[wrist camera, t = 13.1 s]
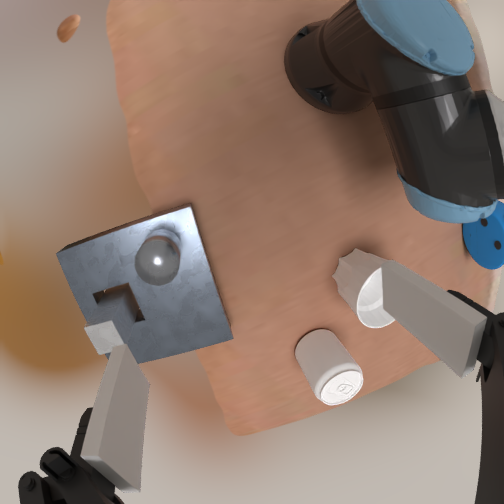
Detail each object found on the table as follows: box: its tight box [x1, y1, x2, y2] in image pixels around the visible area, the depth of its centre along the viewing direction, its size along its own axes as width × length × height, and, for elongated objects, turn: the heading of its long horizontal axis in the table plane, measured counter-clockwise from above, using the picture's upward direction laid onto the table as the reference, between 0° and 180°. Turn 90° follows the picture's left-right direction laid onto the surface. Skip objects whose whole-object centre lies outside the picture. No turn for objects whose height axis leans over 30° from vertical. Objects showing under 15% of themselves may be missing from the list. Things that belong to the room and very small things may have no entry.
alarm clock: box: [463, 201, 504, 269], centre depth 43 cm, size 13×6×15 cm, turn 19°
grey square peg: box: [84, 282, 139, 355], centre depth 36 cm, size 4×4×12 cm
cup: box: [332, 248, 404, 328], centre depth 43 cm, size 10×10×10 cm
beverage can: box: [295, 329, 363, 405], centre depth 45 cm, size 8×8×12 cm
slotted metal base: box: [56, 203, 233, 364], centre depth 37 cm, size 20×20×10 cm
